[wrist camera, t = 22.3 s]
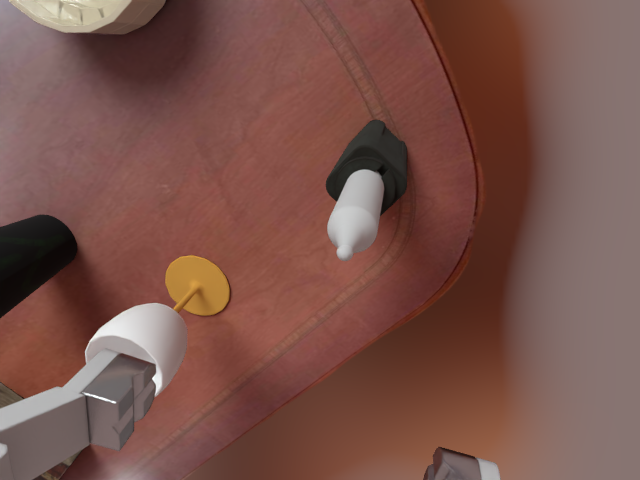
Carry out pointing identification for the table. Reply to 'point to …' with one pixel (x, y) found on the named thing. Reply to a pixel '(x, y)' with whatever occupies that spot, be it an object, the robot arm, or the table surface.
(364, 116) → the table surface
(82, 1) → the bowl
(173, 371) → the cup
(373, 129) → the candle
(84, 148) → the table surface
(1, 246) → the cup
